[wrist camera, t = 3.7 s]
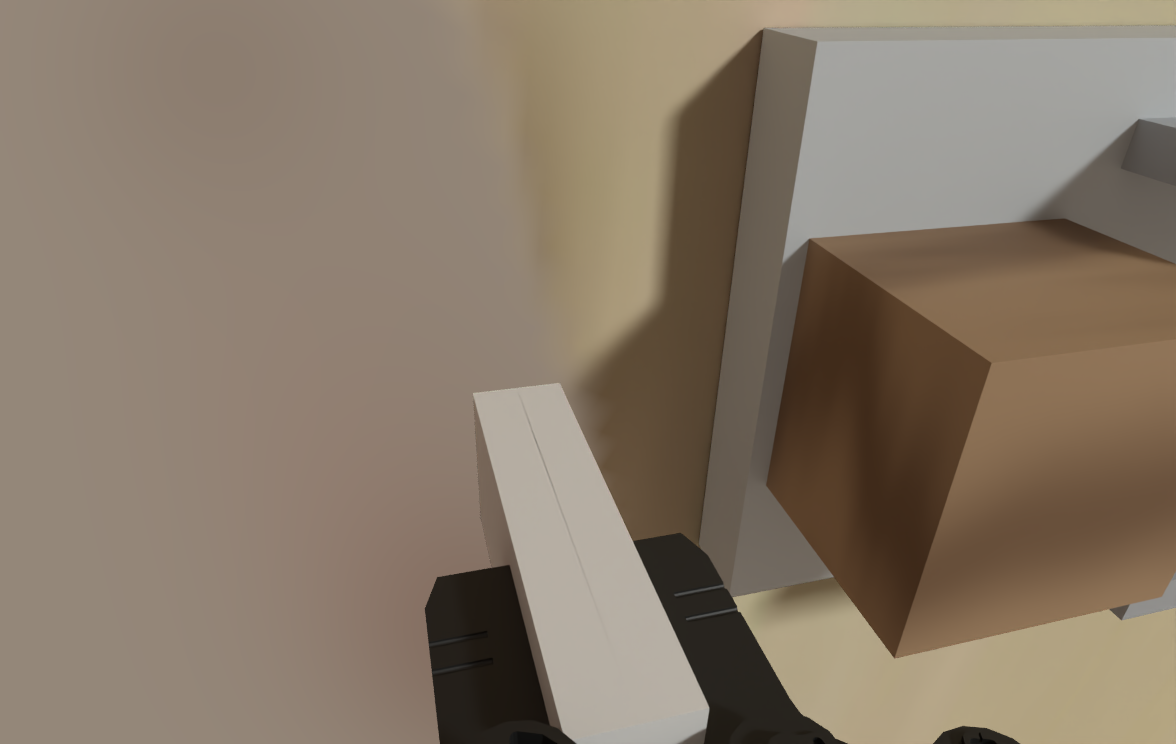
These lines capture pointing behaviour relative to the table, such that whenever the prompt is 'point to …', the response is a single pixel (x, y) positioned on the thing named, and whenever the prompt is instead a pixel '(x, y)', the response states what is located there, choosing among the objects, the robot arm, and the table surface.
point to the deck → (918, 202)
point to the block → (982, 426)
